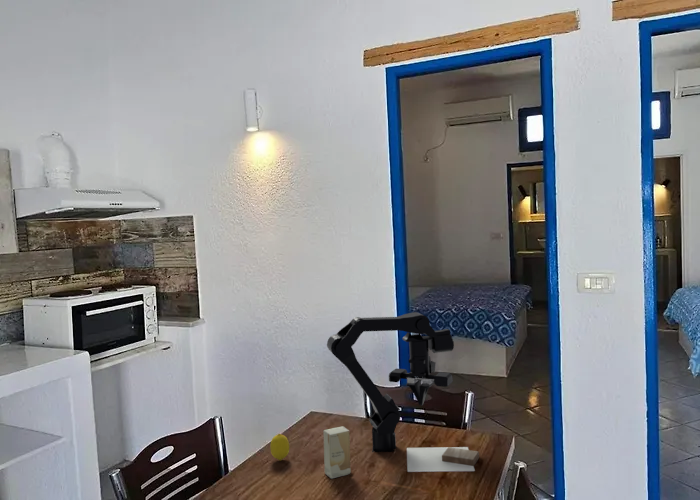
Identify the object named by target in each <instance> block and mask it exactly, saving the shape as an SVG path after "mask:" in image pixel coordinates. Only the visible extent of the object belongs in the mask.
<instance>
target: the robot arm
mask: <svg viewBox="0 0 700 500" xmlns="http://www.w3.org/2000/svg"><path fill="white" fill-rule="evenodd" d="M384 331H385V332H390V331H391V332H392V331H394V332H395V331H401V332H406V334H405V335H404V336H403V337H402V341H404V342H406V343H408V346H409V359H408V364H410V366H409V367H410V372H408V370H407V369H405V368H395V369H393V370H392V371H391V372H389V374H388V382H390V383H399V382H400V381H401V379H402V380H406V386H407V387H409V388H410V390H411V392H412V394H413V395H414V396H415V399H416V401H417V402H418V405H419V406H420V407H422V406H423V405H424V402H425V400H426V396H427V394H428V391H429V388H431V387H432V386H433V385H434V386H436V387H442V388H448V387H449V386H450V385H451V384H452V383H453V381H454V380H453V375H452V373H451V372H442V371H439V372H438V373H437V374H432V373H436V361H433V360H431V356H430V353H429V352H430V351H431V352H432V353H433V354H438V353H447V352H452V351H454V349H455V348H454V347H455V342H454V339H453V336H452V334H451V330H450V329H447V328H445V329H440V330H435V329H433V327H432V326H431V323H430V320H429V318H428V316H426V315H424V314H422V313H419V312H417V311H412V312H409V313H404V314H402V315H398V316H382V317H381V316H379V317H378V316H377V317H376V316H375V317H359V316H355V317H353V318H352V320H350V322H349V323H348V324H346V325H345V326H344V327H342V328H341V329H340V330H338V332H337V333H335V334H332V335H330V337H328V340H327V343H326V346H327V349H328V351H330V352H331V354H332V355H333V356H334V357H335V358H336V359H337V360H339V361H340V363H342V364H343V365H344V366H345V367H346V369H347V371H349V373H350V374H351V376H353V378H354V380H355V381H356V383H357V384H358V385H359V387H360V388H361V389H362V390H363V392H364V393H365V395H366V396H367V397H368V399H369V400H370V402H371V405H372V408H373V410H374V411H375V412H374V413H373V414H372V415H371V417H370V418H369V422H370V425H371V426H372V429H371V438H372V439H371V442H372V449H371V450H372V451H371V453H394V452H395V449H396V448H397V442H396V441H397V440H396V439H397V438H396V432H395V431H396V428H397V425H398V424H399V423H400V421H401V417H402V416H401V413H400V410H401V408H400V407H399V406H398V405H397V404H396V402H395V401H394V399H393V398H392V397H391V396H390V395H389V394H388V393H385V395H383V394H382V392H381V391H380V390H379V389H378V387H377V386H376V385H375V383H374V382H373V380H372V379H371V378H370V376H369V374H368V373H367V372H366V371H365V369H364V368H363V366H362V365H361V363H360V362H359V361H358V359H357V356H356V353H355V351H354V350H353V348H352V347H353V346H354V345H355V344H356V342H357V341H358V339H359V338H360V336H361V335H362V334H363V333H364V332H384ZM411 333H412V334H411ZM423 335H425V336H423ZM429 350H430V351H429Z"/></svg>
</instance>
